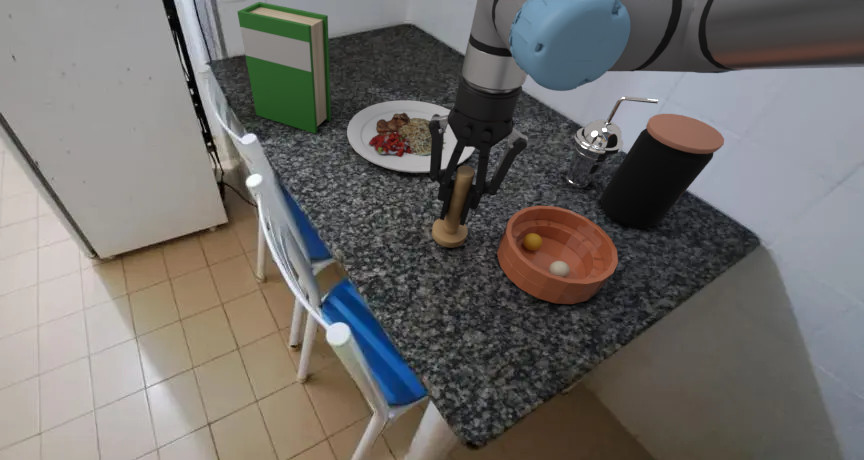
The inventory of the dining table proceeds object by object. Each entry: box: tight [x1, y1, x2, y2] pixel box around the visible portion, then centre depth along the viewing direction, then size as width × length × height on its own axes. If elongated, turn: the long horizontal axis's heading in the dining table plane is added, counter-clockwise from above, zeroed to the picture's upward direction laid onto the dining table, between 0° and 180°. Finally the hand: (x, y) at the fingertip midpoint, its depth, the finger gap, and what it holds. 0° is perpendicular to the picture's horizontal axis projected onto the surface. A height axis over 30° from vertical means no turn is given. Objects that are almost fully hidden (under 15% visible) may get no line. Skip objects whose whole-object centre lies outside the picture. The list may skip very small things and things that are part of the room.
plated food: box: [346, 99, 476, 174], centre depth 91 cm, size 30×30×3 cm
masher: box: [431, 165, 476, 249], centre depth 64 cm, size 6×6×15 cm
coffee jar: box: [600, 113, 725, 229], centre depth 69 cm, size 11×11×18 cm
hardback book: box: [236, 1, 332, 135], centre depth 90 cm, size 18×7×24 cm, turn 62°
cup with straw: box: [564, 95, 659, 189], centre depth 75 cm, size 8×9×20 cm
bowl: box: [496, 205, 619, 305], centre depth 64 cm, size 17×17×6 cm
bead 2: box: [549, 261, 570, 278], centre depth 63 cm, size 3×3×3 cm
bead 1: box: [523, 233, 542, 251], centre depth 67 cm, size 3×3×3 cm
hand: (453, 217), depth 64 cm, fingers closed on masher, 3 cm apart
